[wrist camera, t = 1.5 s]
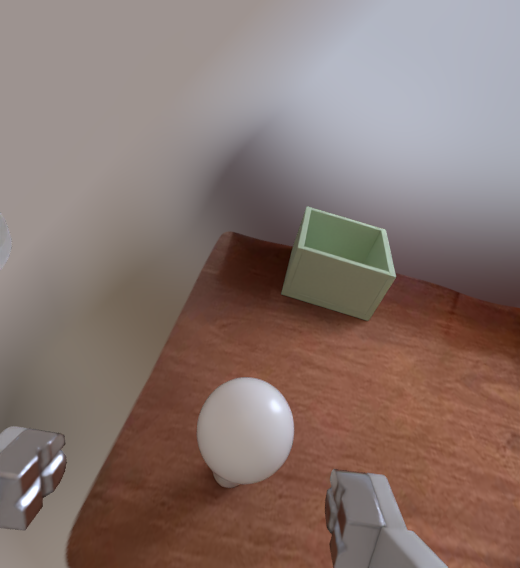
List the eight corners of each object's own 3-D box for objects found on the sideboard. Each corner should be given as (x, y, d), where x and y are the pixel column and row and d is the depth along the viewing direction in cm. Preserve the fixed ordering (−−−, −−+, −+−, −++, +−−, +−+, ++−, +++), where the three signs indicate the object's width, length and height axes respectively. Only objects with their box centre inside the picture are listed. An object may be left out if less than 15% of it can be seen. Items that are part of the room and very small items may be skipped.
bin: (281, 294, 44) (297, 247, 39) (292, 248, 54) (306, 205, 49) (368, 321, 44) (396, 277, 39) (363, 270, 54) (385, 229, 49)
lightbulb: (199, 426, 28) (214, 349, 21) (269, 440, 29) (306, 369, 22) (178, 511, 23) (188, 446, 16) (262, 526, 24) (307, 470, 17)
